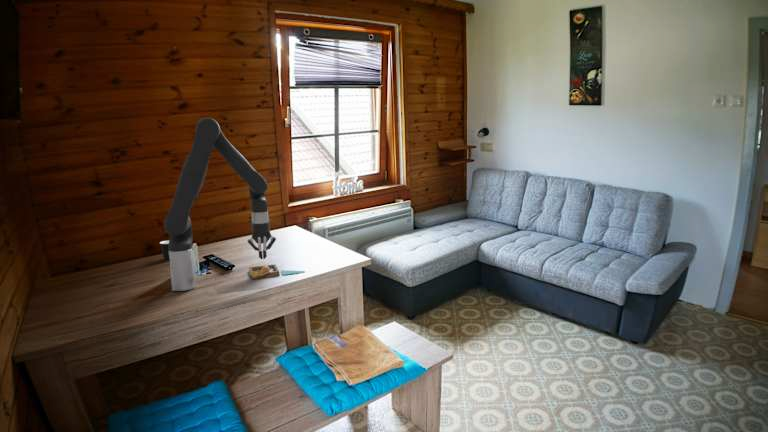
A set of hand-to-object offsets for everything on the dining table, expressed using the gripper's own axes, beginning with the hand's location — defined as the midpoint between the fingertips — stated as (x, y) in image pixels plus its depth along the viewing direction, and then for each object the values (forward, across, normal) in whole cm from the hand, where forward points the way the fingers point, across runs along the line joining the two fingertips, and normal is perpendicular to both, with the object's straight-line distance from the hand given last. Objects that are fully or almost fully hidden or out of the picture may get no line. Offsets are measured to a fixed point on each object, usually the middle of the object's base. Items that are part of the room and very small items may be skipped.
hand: (262, 258), depth 202 cm
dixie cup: (+8, -43, +46) cm, 64 cm away
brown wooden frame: (+7, 0, 0) cm, 7 cm away
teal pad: (+7, +13, -3) cm, 15 cm away
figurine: (+7, +1, -1) cm, 7 cm away
